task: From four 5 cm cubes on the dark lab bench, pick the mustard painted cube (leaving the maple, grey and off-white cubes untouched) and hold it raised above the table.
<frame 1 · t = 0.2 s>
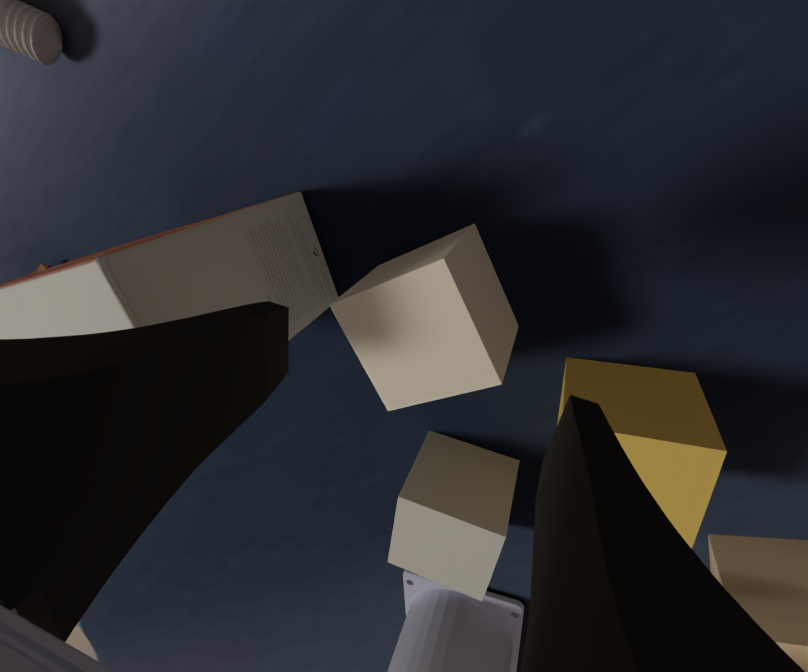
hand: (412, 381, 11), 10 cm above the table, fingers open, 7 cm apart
mustard cube: (618, 411, 20), on the table
small box: (263, 260, 23), on the table
grey cube: (465, 476, 25), on the table
maple cube: (772, 574, 21), on the table
white cube: (447, 294, 21), on the table
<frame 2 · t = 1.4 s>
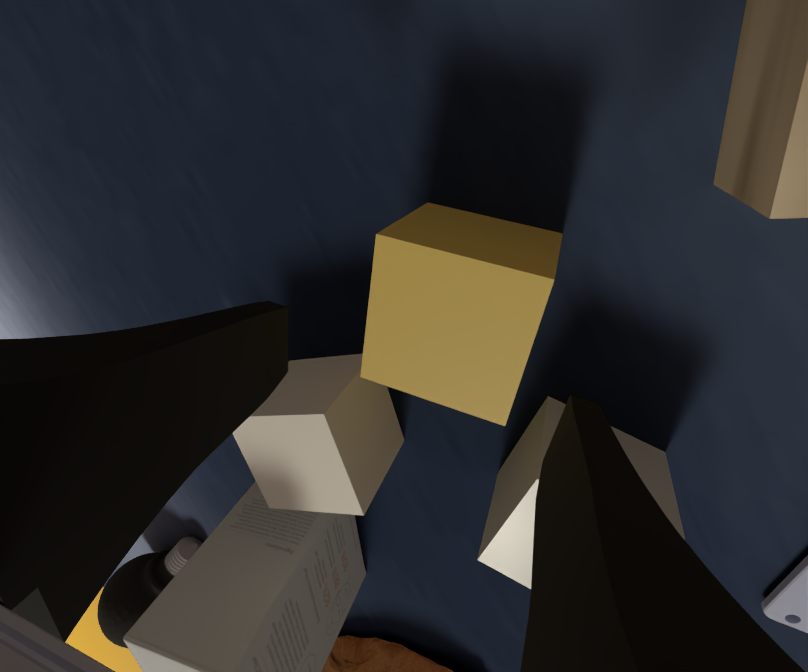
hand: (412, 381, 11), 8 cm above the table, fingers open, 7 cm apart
mustard cube: (477, 280, 17), on the table
small box: (321, 517, 28), on the table
light bulb: (182, 554, 37), on the table
grey cube: (574, 461, 20), on the table
white cube: (347, 399, 23), on the table
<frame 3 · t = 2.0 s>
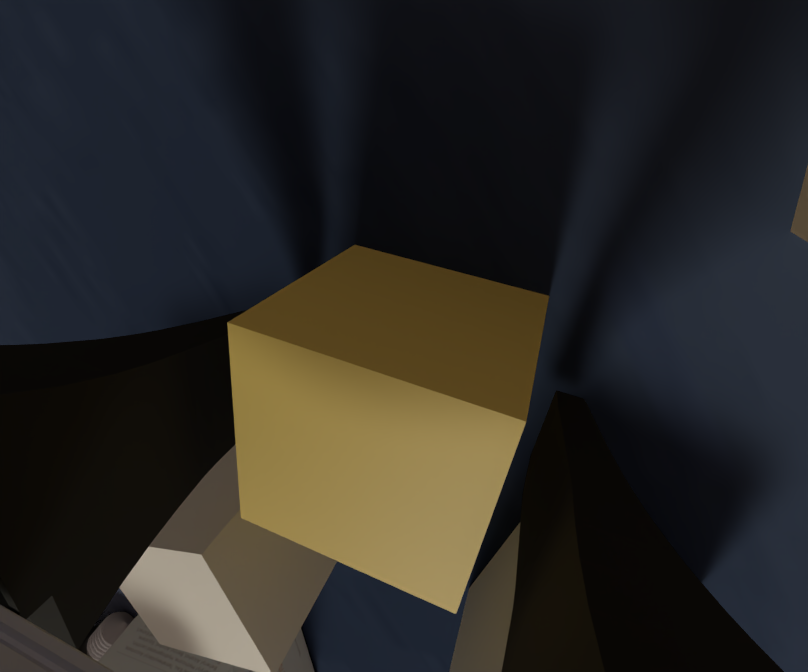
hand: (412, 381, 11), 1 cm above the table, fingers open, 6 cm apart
mustard cube: (430, 352, 12), on the table
small box: (261, 610, 23), on the table
light bulb: (116, 625, 31), on the table
grey cube: (569, 587, 14), on the table
white cube: (275, 485, 17), on the table
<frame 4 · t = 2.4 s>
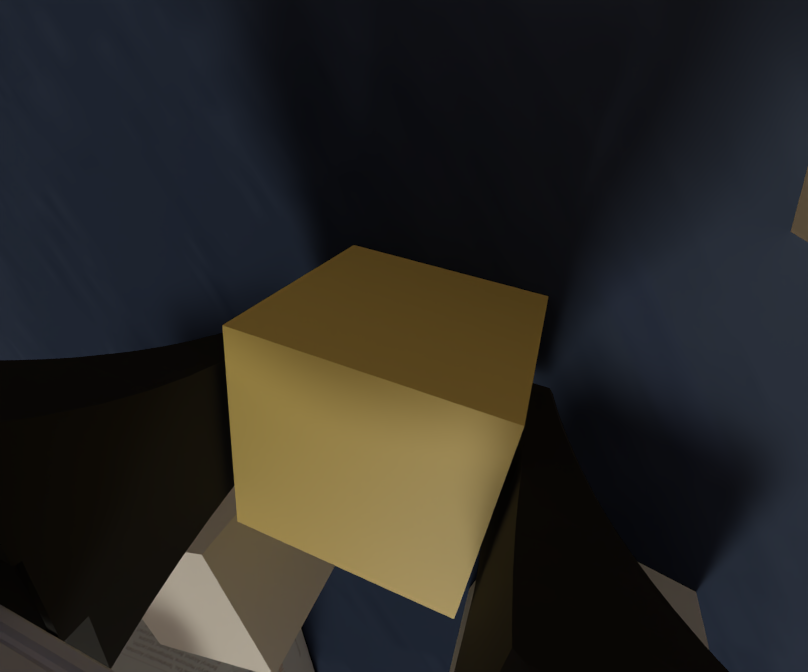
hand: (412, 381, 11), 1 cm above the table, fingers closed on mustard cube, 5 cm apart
mustard cube: (429, 354, 12), on the table, touching gripper
small box: (261, 610, 23), on the table
grey cube: (569, 587, 14), on the table
white cube: (275, 485, 17), on the table
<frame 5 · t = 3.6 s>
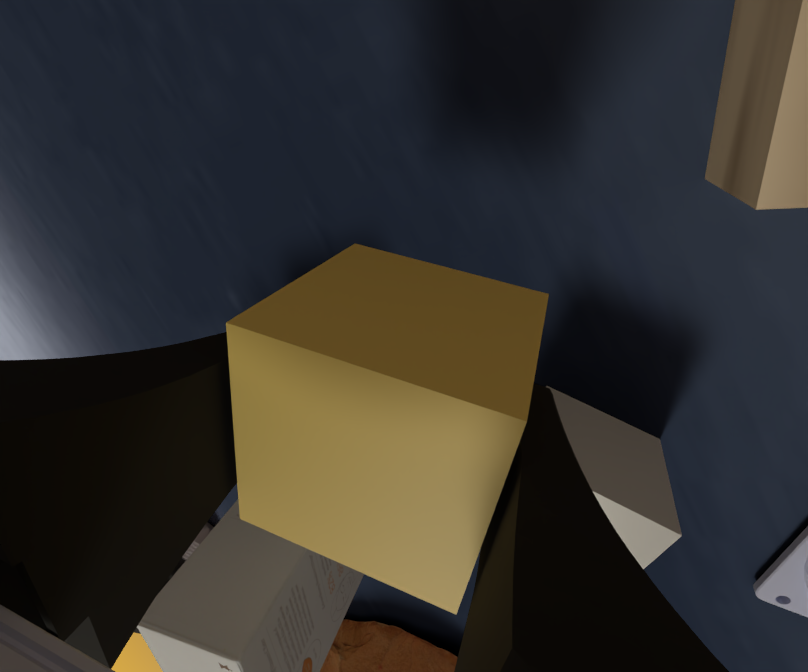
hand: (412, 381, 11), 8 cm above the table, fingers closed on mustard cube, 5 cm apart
mustard cube: (429, 352, 12), point 7 cm above the table, touching gripper
small box: (325, 508, 28), on the table
light bulb: (193, 539, 36), on the table
grey cube: (572, 449, 20), on the table
stone: (413, 670, 34), on the table
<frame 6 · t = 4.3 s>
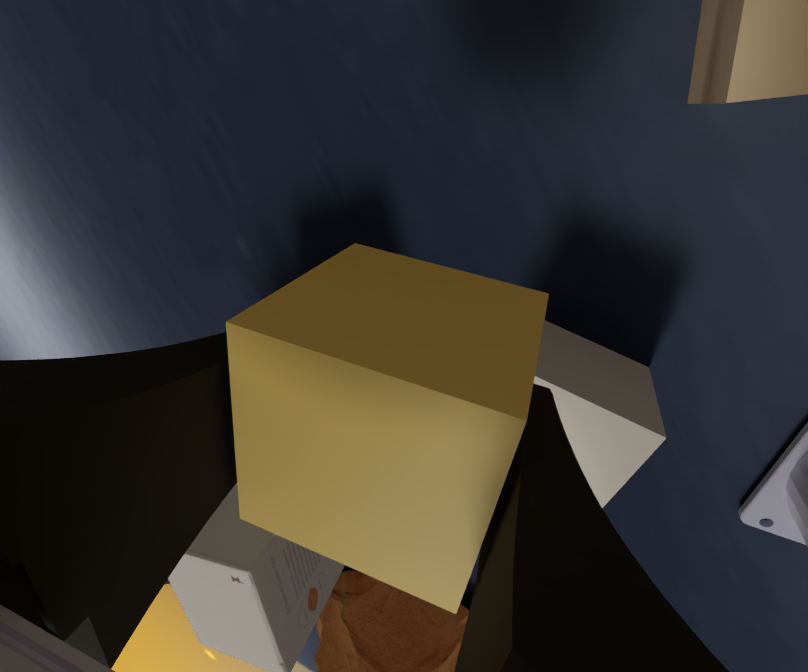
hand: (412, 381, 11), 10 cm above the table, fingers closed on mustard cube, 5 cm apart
mustard cube: (429, 351, 12), point 9 cm above the table, touching gripper
small box: (329, 458, 29), on the table
grey cube: (566, 383, 21), on the table
stone: (413, 622, 35), on the table
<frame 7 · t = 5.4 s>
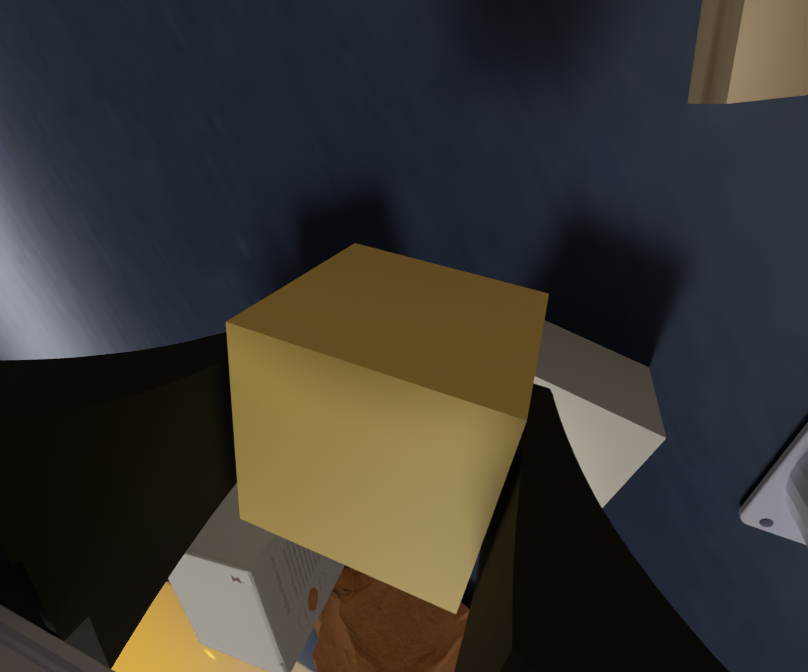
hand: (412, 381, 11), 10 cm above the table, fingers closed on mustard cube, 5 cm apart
mustard cube: (429, 351, 12), point 9 cm above the table, touching gripper
small box: (329, 458, 29), on the table
grey cube: (566, 383, 21), on the table
stone: (412, 619, 35), on the table
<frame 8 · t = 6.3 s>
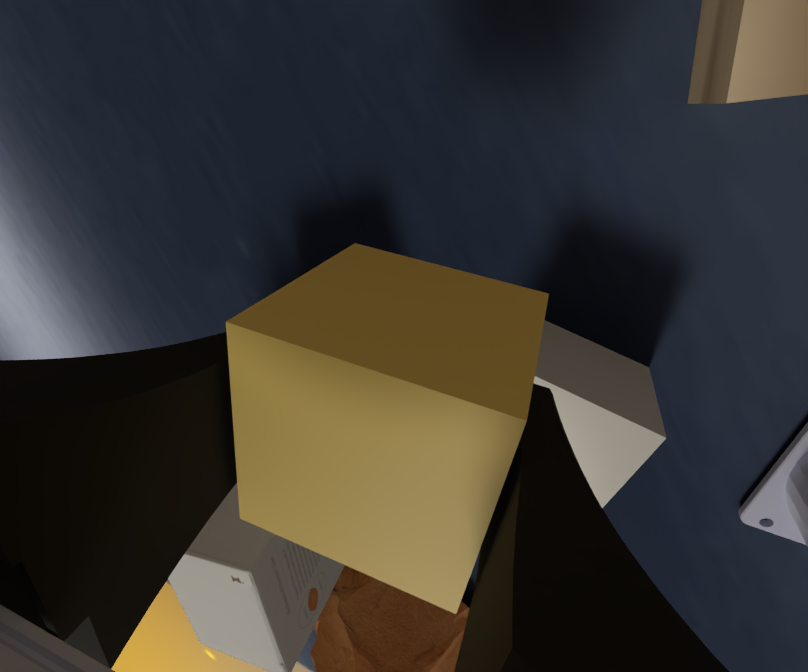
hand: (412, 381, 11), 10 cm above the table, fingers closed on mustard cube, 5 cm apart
mustard cube: (429, 351, 12), point 9 cm above the table, touching gripper
small box: (329, 458, 29), on the table
grey cube: (566, 383, 21), on the table
stone: (410, 617, 35), on the table
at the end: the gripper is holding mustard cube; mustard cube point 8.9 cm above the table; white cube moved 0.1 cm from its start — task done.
